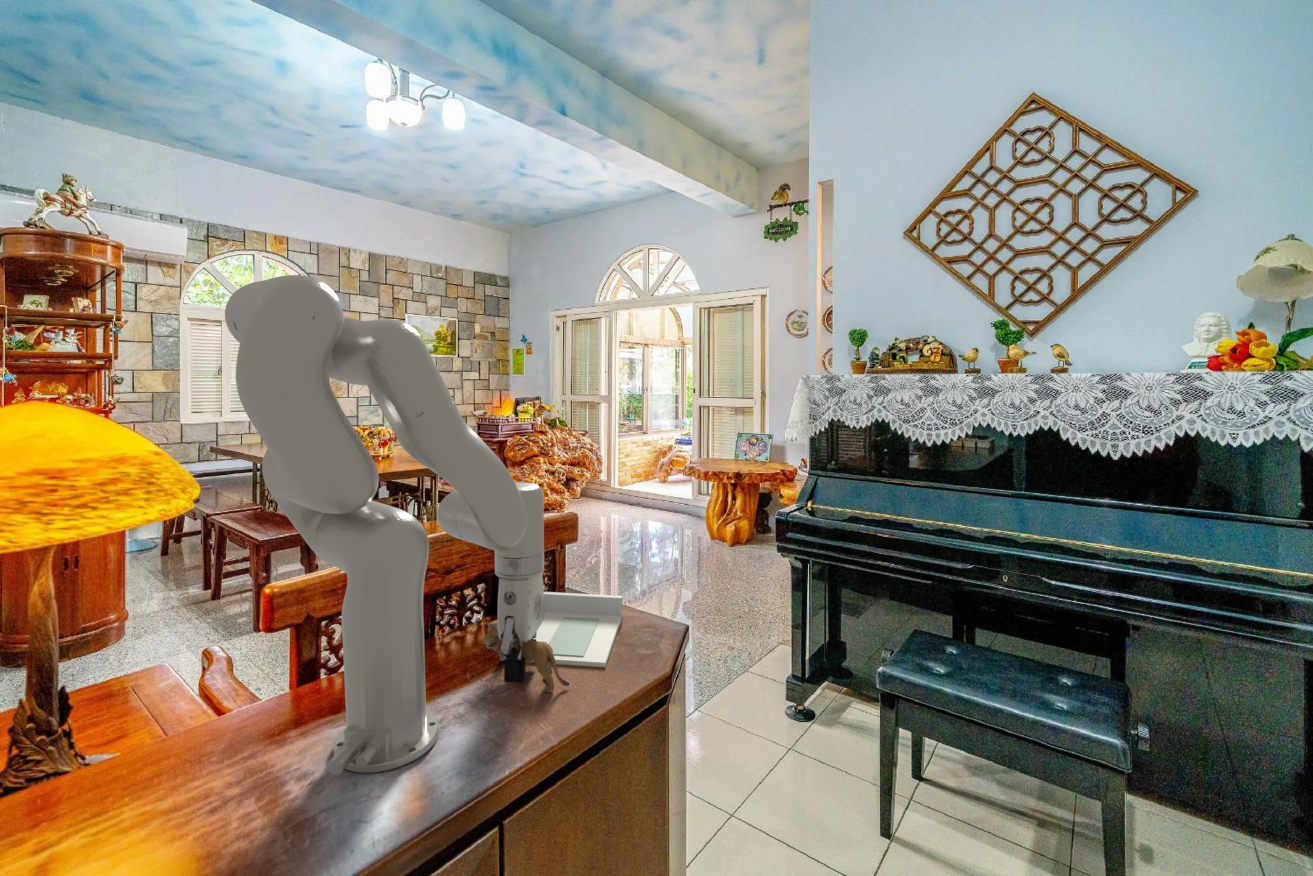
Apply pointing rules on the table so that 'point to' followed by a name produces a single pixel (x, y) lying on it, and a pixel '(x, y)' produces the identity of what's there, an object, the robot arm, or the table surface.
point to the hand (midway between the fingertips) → (520, 670)
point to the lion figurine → (528, 654)
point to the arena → (580, 627)
